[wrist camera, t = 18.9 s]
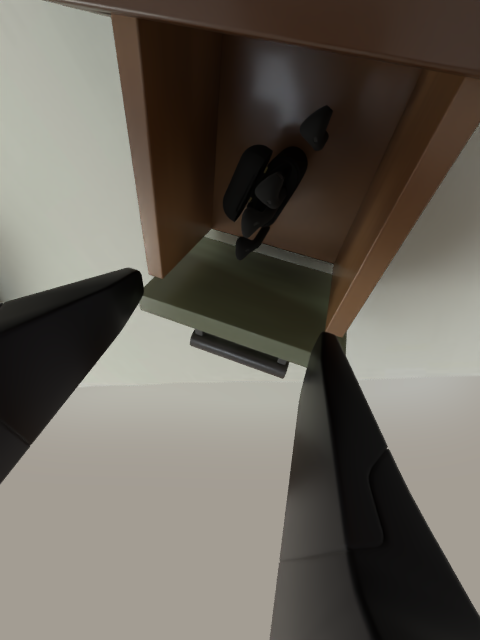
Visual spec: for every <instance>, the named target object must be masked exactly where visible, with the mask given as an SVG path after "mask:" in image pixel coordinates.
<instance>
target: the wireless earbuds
mask: <svg viewBox="0 0 480 640" xmlns="http://www.w3.org/2000/svg"><path fill="white" fill-rule="evenodd" d="M332 113H333V110H332V109H331V108H330V107H329V106H328V105H326V106H323V107H321V108H319V109H318V110H316V111H315V112H314V113H312V114H311V115H310V116H309V117H308V118H307V119H305V121H304V122H303V123H302V124H301V126H300V134H301V135H302V137H303V138H304V139H305V140H306V141H307V142H308V143H309V144H310V145H311V146H312V148H313V149H314V150H315V151H320V150H322V149H323V147H324V146H325V144H326V142H327V140H328V137H329V135H328V132H327V131H326V129H327V126H328V124H329V121H330V119H331V116H332ZM272 153H273V150H271V149H270V148H269V147H267V146H265V145H260V144H259V145H253V146H251V147H249V148H248V149H246V150H245V151H244V153H243V154H242V156H241V158H240V160H239V163H238V165H237V167H236V169H235V172H234V174H233V176H232V179H231V181H230V183H229V185H228V188H227V190H226V192H225V195H224V197H223V210H224V212H225V214H226V216H227V217H228V218H229V219H231V220H232V221H233V222H235V221H236V220H237V219H238V218H239V216H240V215H241V213H242V211H243V210H244V208H245V206H246V204H247V203H248V204H247V208H246V209H245V210H244V212H243V214H242V219H241V231H242V235H243V236H244V237H239V238H238V240H237V242H236V247H235V254H236V257H237V259H238V260H242V259H244V258H245V257H246V256H247V255H248V254H249V253H250V252H252V251H253V250H255V249H256V248H258V247H259V246H260V245H261V243H262V242H263V240H264V238H265V236H266V235H267V233H268V231H269V230H270V225H272V224H273V223H274V222H275V221H276V220H277V218H278V216H279V215H280V213H281V212H282V210H283V209H284V207H285V206H286V204H287V202H288V201H289V199H290V198H291V196H292V195H293V193H294V192H295V190H296V189H297V187H298V185H299V183H300V182H301V180H302V178H303V176H304V174H305V173H306V170H307V165H308V163H307V157H306V154H305V153H304V151H303V150H301V149H300V148H298V147H294V146H291V147H288V148H285V149H284V150H282V151H281V152H280V153H279V154H278V155H277V156H276V157H275V158H274V159H273V160H272V161H271V162H270V163H269V164H268V162H269V160H270V158H271V156H272ZM267 164H268V165H267ZM266 166H267V167H266ZM265 168H266V169H265ZM264 170H265V171H264ZM250 197H251V198H250ZM260 227H261V229H260V230H259V232H258V233H257V235H256V236H255V238H254V239H253V240H250V239H248V238H249V237H250V236H251V235H252V234H253V233H255V232H256V231H257V230H258V229H259V228H260Z"/></svg>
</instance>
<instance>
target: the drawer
mask: <svg viewBox="0 0 480 640" xmlns="http://www.w3.org/2000/svg"><path fill="white" fill-rule="evenodd" d="M111 19H112V26H113V33H114V39H115V46H116V53H117V60H118V67H119V74H120V81H121V88H122V94H123V101H124V108H125V115H126V122H127V129H128V136H129V143H130V149H131V156H132V163H133V170H134V177H135V184H136V191H137V198H138V204H139V211H140V218H141V225H142V232H143V239H144V246H145V253H146V260H147V266H148V273H149V275H152V276H155V277H154V278H153V279H152V280H151V281H150V282H149V283H148V284H147V285H146V286H145V287H144V294H143V297H142V299H141V300H140V302H139V304H140V309H141V310H143V311H146V312H149V313H151V314H154V315H157V316H160V317H163V318H166V319H169V320H172V321H174V322H177V323H180V324H183V325H186V326H189V327H192V328H194V329H195V330H194V332H193V333H192V336H191V339H190V345H191V346H193V347H196V348H199V349H202V350H204V351H207V352H210V353H213V354H215V355H218V356H221V357H224V358H227V359H229V360H232V361H235V362H238V363H241V364H243V365H246V366H249V367H252V368H254V369H257V370H260V371H263V372H266V373H268V374H271V375H274V376H277V377H279V378H282V379H283V378H284V377H285V374H286V371H287V368H288V365H289V362H292V363H295V364H298V365H301V366H303V367H306V368H307V366H308V362H309V358H310V355H311V351H312V349H313V347H314V345H315V343H316V341H317V339H318V337H319V335H320V333H321V332H323V331H325V332H329V333H332V334H334V335H336V336H337V338H338V340H339V343H340V345H341V347H342V349H343V351H344V353H345V355H346V335H347V330H348V328H349V327H350V325H351V323H352V322H353V320H354V319H355V317H356V316H357V314H358V312H359V311H360V309H361V308H362V306H363V305H364V303H365V301H366V300H367V298H368V297H369V295H370V294H371V292H372V290H373V289H374V287H375V286H376V284H377V283H378V281H379V280H380V278H381V276H382V275H383V273H384V272H385V270H386V269H387V267H388V265H389V264H390V262H391V261H392V259H393V258H394V256H395V254H396V253H397V251H398V250H399V248H400V247H401V245H402V243H403V242H404V240H405V239H406V237H407V236H408V234H409V233H410V231H411V229H412V228H413V226H414V225H415V223H416V222H417V220H418V218H419V217H420V215H421V214H422V212H423V211H424V209H425V207H426V206H427V204H428V203H429V201H430V200H431V198H432V196H433V195H434V193H435V192H436V190H437V189H438V187H439V186H440V184H441V182H442V181H443V179H444V178H445V176H446V175H447V173H448V171H449V170H450V168H451V167H452V165H453V164H454V162H455V160H456V159H457V157H458V156H459V154H460V153H461V151H462V149H463V148H464V146H465V145H466V143H467V142H468V140H469V139H470V137H471V135H472V134H473V132H474V131H475V129H476V128H477V126H478V124H479V123H480V79H475V78H470V77H464V76H458V75H453V74H447V73H442V72H436V71H430V70H425V69H419V68H414V67H408V66H402V65H397V64H391V63H386V62H380V61H374V60H369V59H363V58H358V57H352V56H346V55H341V54H335V53H330V52H324V51H318V50H313V49H307V48H302V47H296V46H290V45H285V44H279V43H273V42H268V41H262V40H257V39H251V38H245V37H240V36H234V35H229V34H223V33H217V32H212V31H206V30H201V29H195V28H189V27H184V26H178V25H173V24H167V23H161V22H156V21H150V20H145V19H139V18H133V17H128V16H122V15H116V14H111ZM326 105H328V106H329V107H330V108H331V109H332V110H333V113H332V116H331V119H330V121H329V124H328V126H327V129H326V131H327V132H328V135H329V137H328V140H327V142H326V144H325V146H324V147H323V149H322V150H320V151H315V150H314V149H313V148H312V146H311V145H310V144H309V143H308V142H307V141H306V140H305V139H304V138H303V137H302V135H301V134H300V126H301V124H302V123H303V122H304V121H305V119H307V118H308V117H309V116H310V115H311V114H312V113H314V112H315V111H316V110H318V109H319V108H321V107H323V106H326ZM259 144H260V145H265V146H267V147H269V148H270V149H271V150H273V153H272V156H271V158H270V160H269V162H268V164H269V163H270V162H271V161H272V160H273V159H274V158H275V157H276V156H277V155H278V154H279V153H280V152H281V151H282V150H284V149H285V148H288V147H291V146H294V147H298V148H300V149H301V150H303V151H304V153H305V154H306V157H307V163H308V165H307V170H306V173H305V174H304V176H303V178H302V180H301V182H300V183H299V185H298V187H297V189H296V190H295V192H294V193H293V195H292V196H291V198H290V199H289V201H288V202H287V204H286V206H285V207H284V209H283V210H282V212H281V213H280V215H279V216H278V218H277V220H276V221H275V222H274V223H273V224H272V225H270V230H269V231H268V233H267V235H266V236H265V238H264V240H263V242H262V243H263V244H267V245H270V246H274V247H277V248H281V249H284V250H287V251H291V252H294V253H298V254H301V255H305V256H308V257H312V258H315V259H319V260H322V261H325V262H329V263H332V264H334V266H333V273H332V274H328V273H325V272H321V271H318V270H315V269H311V268H308V267H304V266H301V265H298V264H294V263H291V262H288V261H284V260H281V259H277V258H274V257H271V256H267V255H264V254H260V253H257V252H254V251H252V252H250V253H249V254H248V255H247V256H246V257H245V258H244V259H242V260H238V259H237V257H236V254H235V247H236V246H233V245H230V244H227V243H223V242H220V241H216V240H213V239H210V238H206V237H204V236H205V235H206V234H207V233H208V232H209V231H210V230H211V229H215V230H218V231H222V232H225V233H229V234H232V235H236V236H239V237H244V236H243V235H242V231H241V219H242V214H243V212H244V210H245V209H246V208H247V204H248V203H247V204H246V206H245V208H244V210H243V211H242V213H241V215H240V216H239V218H238V219H237V220H236V221H235V222H233V221H232V220H231V219H229V218H228V217H227V216H226V214H225V212H224V210H223V197H224V195H225V192H226V190H227V188H228V185H229V183H230V181H231V179H232V176H233V174H234V172H235V169H236V167H237V165H238V163H239V160H240V158H241V156H242V154H243V153H244V151H245V150H246V149H248V148H249V147H251V146H253V145H259ZM268 164H267V165H268ZM266 167H267V166H266ZM265 169H266V168H265ZM264 171H265V170H264ZM250 198H251V197H250ZM260 229H261V227H260V228H259V229H258V230H257V231H256V232H255V233H253V234H252V235H251V236H250V237H249V238H248V239H250V240H253V239H254V238H255V236H256V235H257V233H258V232H259V230H260Z"/></svg>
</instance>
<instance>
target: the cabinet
mask: <svg viewBox="0 0 480 640" xmlns="http://www.w3.org/2000/svg"><path fill="white" fill-rule="evenodd" d="M44 1H48V2H52V3H56V4H60V5H63V6H68V7H72V8H76V9H80V10H84V11H88V12H92V13H96V14H100V15H104V16H108V17H111V14H116V15H122V16H128V17H133V18H139V19H145V20H150V21H156V22H161V23H167V24H173V25H178V26H184V27H189V28H195V29H201V30H206V31H212V32H217V33H223V34H229V35H234V36H240V37H245V38H251V39H257V40H262V41H268V42H273V43H279V44H285V45H290V46H296V47H302V48H307V49H313V50H318V51H324V52H330V53H335V54H341V55H346V56H352V57H358V58H363V59H369V60H374V61H380V62H386V63H391V64H397V65H402V66H408V67H414V68H419V69H425V70H430V71H436V72H442V73H447V74H453V75H458V76H464V77H470V78H475V79H480V0H44Z"/></svg>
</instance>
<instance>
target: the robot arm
mask: <svg viewBox="0 0 480 640" xmlns="http://www.w3.org/2000/svg"><path fill="white" fill-rule="evenodd" d="M143 294H144V287H143V281H142V275H141V273H140V271H138V270H135V269H132V268H124V269H121V270H117V271H113V272H110V273H106V274H103V275H99V276H96V277H92V278H89V279H85V280H82V281H78V282H75V283H71V284H67V285H64V286H60V287H57V288H53V289H50V290H46V291H43V292H39V293H36V294H32V295H29V296H25V297H21V298H18V299H14V300H11V301H7V302H5V303H4V304H3V303H0V484H1V482H2V481H3V480H4V479H5V477H6V476H7V475H8V474H9V472H10V471H11V470H12V469H13V467H14V466H15V465H16V464H17V462H18V461H19V460H20V458H21V457H22V456H23V455H24V454H25V452H26V451H27V450H28V449H29V447H30V445H31V444H32V443H33V442H34V441H35V439H36V438H37V437H38V436H39V434H40V433H41V432H42V431H43V429H44V428H45V427H46V425H47V424H48V423H49V422H50V420H51V419H52V418H53V417H54V415H55V414H56V413H57V411H58V410H59V409H60V408H61V407H62V405H63V404H64V403H65V402H66V400H67V399H68V398H69V396H70V395H71V394H72V393H73V391H74V390H75V389H76V388H77V386H78V385H79V384H80V383H81V381H82V380H83V379H84V378H85V376H86V375H87V374H88V372H89V371H90V370H91V369H92V367H93V366H94V365H95V364H96V362H97V361H98V360H99V359H100V357H101V356H102V355H103V354H104V352H105V351H106V350H107V348H108V347H109V346H110V345H111V343H112V342H113V341H114V340H115V338H116V337H117V336H118V334H119V333H120V332H121V330H122V329H123V327H124V326H125V324H126V323H127V321H128V320H129V318H130V316H131V315H132V313H133V312H134V310H135V308H136V307H137V305H138V304H139V302H140V300H141V299H142V297H143ZM387 447H388V446H387V444H386V442H385V440H384V437H383V435H382V433H381V431H380V429H379V427H378V424H377V422H376V420H375V418H374V416H373V414H372V412H371V409H370V407H369V405H368V403H367V401H366V399H365V397H364V394H363V392H362V390H361V388H360V386H359V383H358V381H357V379H356V377H355V375H354V373H353V371H352V368H351V366H350V364H349V362H348V360H347V358H346V355H345V353H344V351H343V349H342V347H341V345H340V343H339V340H338V338H337V336H336V335H334V334H332V333H329V332H325V331H323V332H321V333H320V335H319V337H318V339H317V341H316V343H315V345H314V347H313V349H312V351H311V355H310V358H309V362H308V366H307V370H306V374H305V378H304V382H303V386H302V389H301V394H300V400H299V406H298V414H297V423H296V430H295V439H294V447H293V455H292V463H291V471H290V479H289V487H288V496H287V504H286V512H285V520H284V528H283V537H282V544H281V553H280V563H279V568H278V576H277V585H276V593H275V602H274V609H273V617H272V625H271V633H270V640H480V616H479V615H478V613H477V611H476V609H475V608H474V606H473V604H472V603H471V601H470V599H469V597H468V596H467V594H466V592H465V590H464V588H463V587H462V585H461V583H460V582H459V580H458V578H457V576H456V574H455V573H454V571H453V569H452V567H451V565H450V564H449V562H448V560H447V558H446V557H445V555H444V553H443V551H442V550H441V548H440V546H439V544H438V542H437V541H436V539H435V537H434V535H433V534H432V532H431V530H430V528H429V527H428V525H427V523H426V521H425V519H424V517H423V516H422V514H421V512H420V510H419V508H418V506H417V505H416V503H415V501H414V499H413V497H412V495H411V494H410V492H409V490H408V487H407V485H406V484H405V481H404V480H403V477H402V475H401V473H400V471H399V469H398V467H397V465H396V463H395V461H394V459H393V456H392V454H391V452H390V450H389V449H387Z"/></svg>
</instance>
